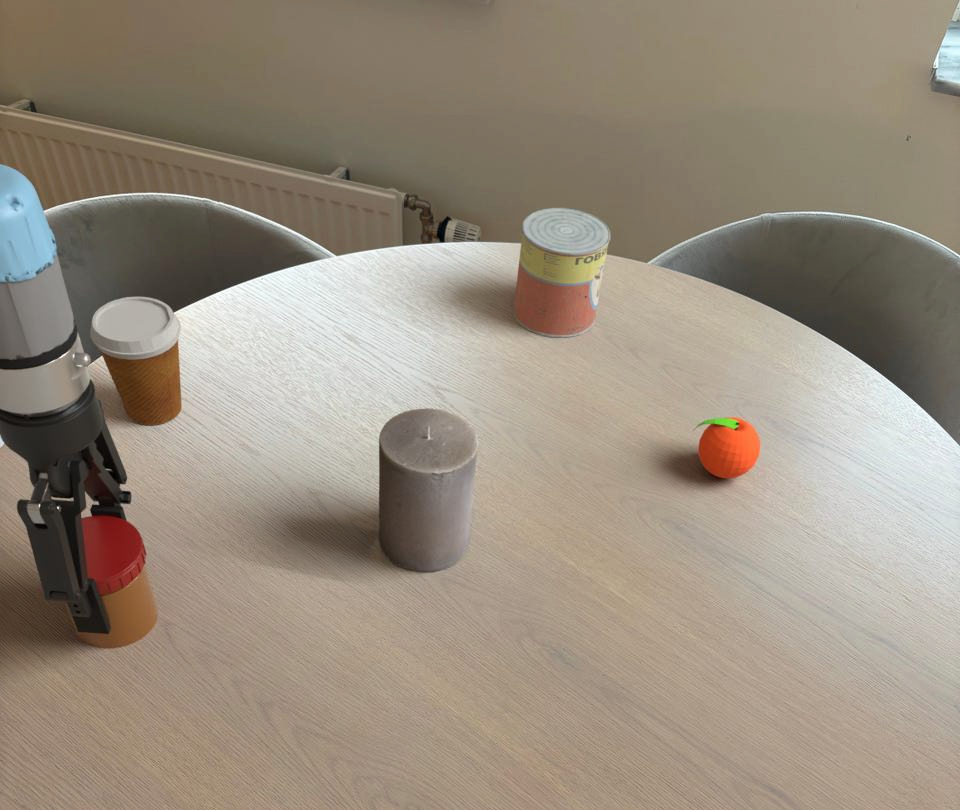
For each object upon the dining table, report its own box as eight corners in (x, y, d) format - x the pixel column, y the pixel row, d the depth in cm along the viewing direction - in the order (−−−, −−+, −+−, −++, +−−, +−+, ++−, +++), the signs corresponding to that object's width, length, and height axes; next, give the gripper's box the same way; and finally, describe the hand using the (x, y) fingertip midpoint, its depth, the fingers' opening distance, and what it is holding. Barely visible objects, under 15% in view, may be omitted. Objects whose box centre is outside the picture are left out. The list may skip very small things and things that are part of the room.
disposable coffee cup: (179, 440, 112) (159, 350, 103) (98, 427, 113) (72, 336, 103) (207, 390, 118) (191, 301, 109) (130, 378, 119) (108, 288, 109)
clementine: (677, 479, 114) (692, 430, 108) (689, 443, 118) (703, 394, 113) (745, 497, 113) (763, 449, 107) (754, 460, 117) (772, 412, 111)
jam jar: (64, 651, 92) (33, 575, 84) (101, 593, 97) (75, 515, 89) (140, 668, 92) (116, 593, 84) (174, 609, 96) (154, 532, 88)
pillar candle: (364, 523, 106) (361, 410, 94) (446, 499, 109) (452, 387, 97) (402, 584, 101) (403, 473, 89) (486, 557, 104) (498, 446, 92)
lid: (109, 609, 84) (104, 595, 82) (28, 577, 85) (22, 563, 84) (165, 547, 89) (161, 532, 87) (88, 518, 90) (83, 503, 89)
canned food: (588, 344, 130) (603, 260, 120) (505, 328, 131) (513, 243, 122) (601, 299, 137) (616, 216, 128) (522, 284, 138) (531, 201, 129)
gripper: (45, 487, 66) (118, 687, 84) (128, 313, 79) (176, 517, 97) (-68, 479, 66) (29, 681, 84) (35, 305, 79) (100, 511, 97)
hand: (108, 592), depth 90 cm, fingers closed on lid, 8 cm apart
